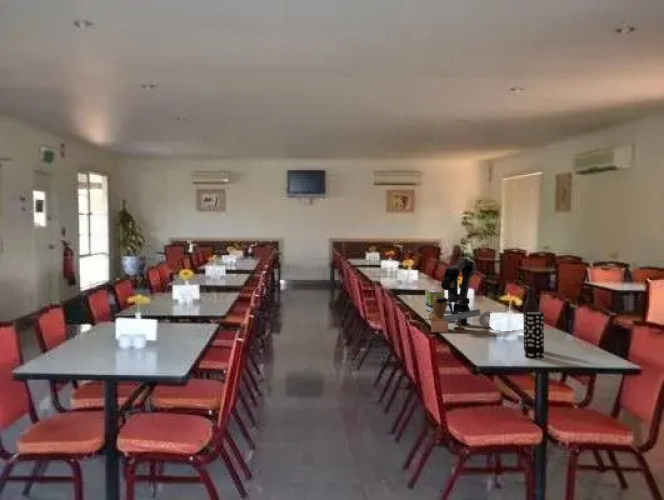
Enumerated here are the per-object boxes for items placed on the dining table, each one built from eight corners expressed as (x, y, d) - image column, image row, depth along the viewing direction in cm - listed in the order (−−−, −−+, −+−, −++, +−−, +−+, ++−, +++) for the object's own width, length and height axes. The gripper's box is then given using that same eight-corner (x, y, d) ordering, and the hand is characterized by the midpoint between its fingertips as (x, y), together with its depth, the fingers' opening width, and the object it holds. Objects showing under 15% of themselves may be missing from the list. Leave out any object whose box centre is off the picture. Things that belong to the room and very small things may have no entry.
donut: (494, 327, 392) (494, 310, 392) (496, 327, 389) (496, 310, 389) (477, 327, 391) (477, 310, 390) (480, 328, 387) (480, 311, 387)
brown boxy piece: (447, 329, 388) (447, 315, 388) (448, 332, 378) (448, 318, 378) (431, 329, 390) (431, 315, 390) (431, 332, 379) (430, 318, 379)
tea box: (425, 310, 473) (424, 289, 472) (439, 309, 474) (438, 288, 473) (430, 313, 458) (430, 291, 457) (444, 312, 459) (444, 290, 459)
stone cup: (449, 321, 418) (449, 297, 417) (430, 321, 419) (429, 297, 418) (446, 318, 433) (446, 294, 432) (427, 318, 434) (427, 295, 433)
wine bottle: (522, 349, 325) (521, 287, 323) (536, 348, 324) (536, 286, 323) (525, 351, 317) (525, 288, 316) (541, 351, 317) (540, 288, 316)
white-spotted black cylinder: (522, 355, 309) (521, 312, 309) (539, 354, 310) (539, 311, 309) (528, 359, 301) (528, 314, 300) (546, 358, 302) (546, 314, 301)
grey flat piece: (478, 311, 392) (477, 306, 392) (480, 315, 376) (479, 310, 376) (443, 318, 395) (442, 313, 395) (444, 322, 379) (442, 317, 379)
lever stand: (464, 328, 389) (464, 314, 389) (465, 332, 374) (465, 318, 374) (453, 328, 390) (453, 314, 390) (454, 332, 375) (454, 318, 375)
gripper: (436, 290, 385) (436, 317, 385) (469, 290, 382) (470, 317, 383) (436, 288, 396) (436, 314, 396) (468, 288, 393) (469, 314, 394)
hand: (453, 315), depth 392 cm, fingers closed
